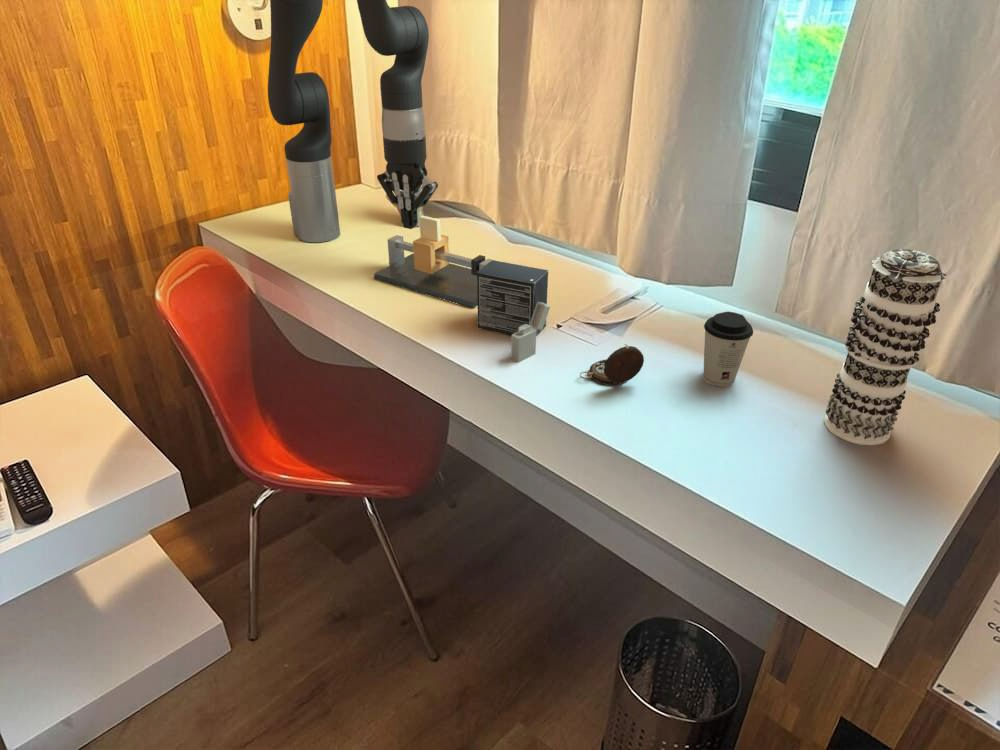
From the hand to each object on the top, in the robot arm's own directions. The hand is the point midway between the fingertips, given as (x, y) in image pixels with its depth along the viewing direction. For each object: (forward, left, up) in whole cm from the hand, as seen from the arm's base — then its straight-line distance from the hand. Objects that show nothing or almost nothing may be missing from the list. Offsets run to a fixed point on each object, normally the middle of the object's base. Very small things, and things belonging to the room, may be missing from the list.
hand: (410, 227), depth 137 cm
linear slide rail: (+7, 0, -10) cm, 12 cm away
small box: (+28, -8, -10) cm, 30 cm away
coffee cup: (+63, -5, -10) cm, 64 cm away
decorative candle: (+83, -7, -10) cm, 84 cm away
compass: (+48, -14, -10) cm, 51 cm away
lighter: (+35, -14, -10) cm, 39 cm away
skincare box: (-18, +23, -10) cm, 31 cm away
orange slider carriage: (+5, 0, -7) cm, 8 cm away
